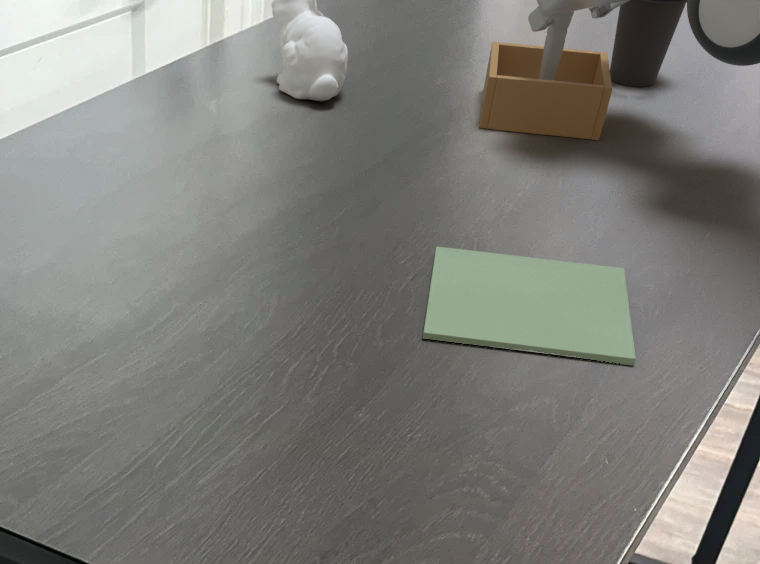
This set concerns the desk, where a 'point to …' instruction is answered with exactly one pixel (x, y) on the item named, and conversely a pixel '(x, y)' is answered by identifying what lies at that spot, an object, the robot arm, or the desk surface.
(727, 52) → the robot arm
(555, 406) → the desk surface
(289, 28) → the rabbit
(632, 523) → the desk surface
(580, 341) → the mat
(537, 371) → the desk surface
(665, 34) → the coffee cup
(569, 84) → the storage box
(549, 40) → the pen
